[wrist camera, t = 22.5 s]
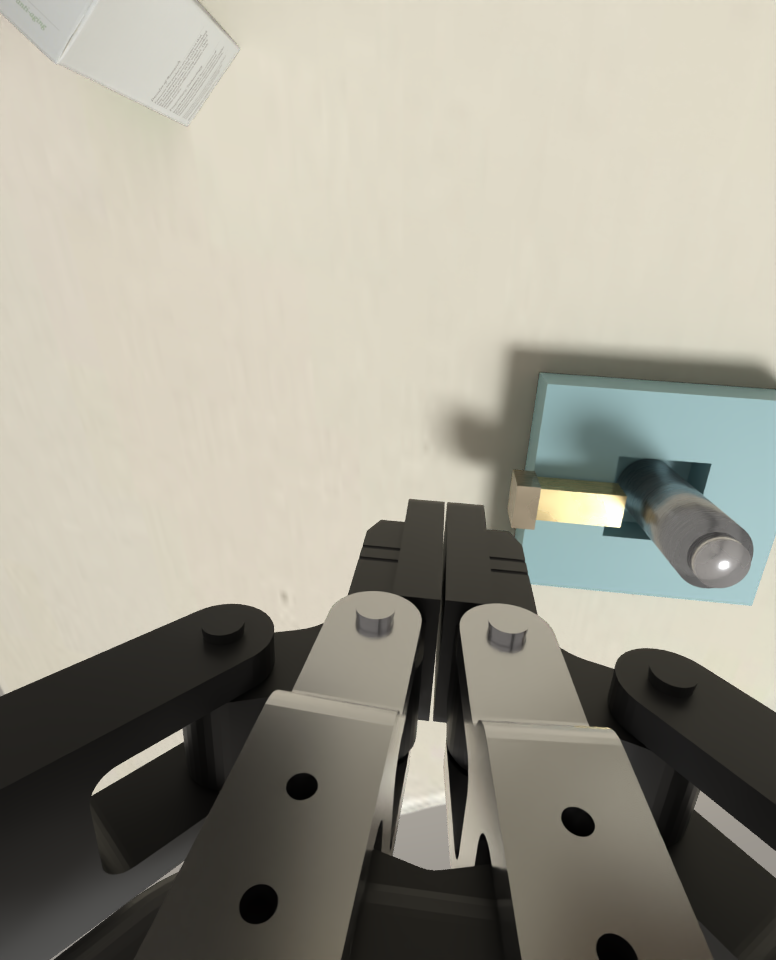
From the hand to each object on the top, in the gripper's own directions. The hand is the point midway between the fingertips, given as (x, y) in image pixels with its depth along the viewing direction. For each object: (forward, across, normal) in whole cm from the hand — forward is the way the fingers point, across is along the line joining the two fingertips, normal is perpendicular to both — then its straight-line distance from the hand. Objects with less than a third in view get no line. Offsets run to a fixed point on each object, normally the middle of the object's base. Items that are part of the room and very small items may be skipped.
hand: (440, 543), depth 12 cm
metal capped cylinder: (+33, -16, +11) cm, 39 cm away
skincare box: (+35, +20, -17) cm, 43 cm away
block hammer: (+30, -10, +11) cm, 34 cm away
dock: (+34, -16, +11) cm, 40 cm away
